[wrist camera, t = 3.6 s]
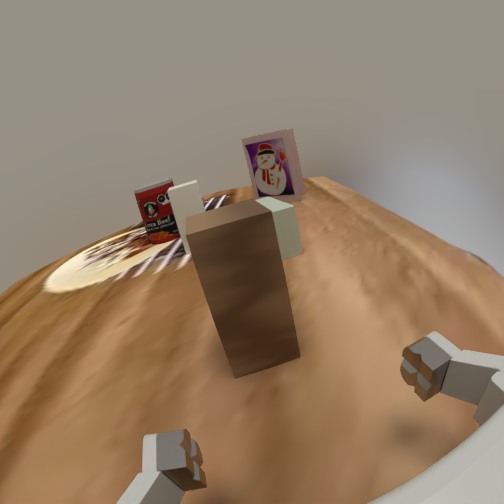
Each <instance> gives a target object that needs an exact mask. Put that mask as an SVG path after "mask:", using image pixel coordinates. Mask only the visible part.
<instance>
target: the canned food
mask: <svg viewBox="0 0 504 504" xmlns="http://www.w3.org/2000/svg"><path fill="white" fill-rule="evenodd" d="M171 187H174V184H173V181H172V178H168V179H164V180H161V181H157V182H154V183H151V184H148V185H145V186H143V187H140V188H137V189H136V190H135V191H134V192H135V196H136V200H137V203H138V207H139V209H140V213H141V216H142V219H143V222H144V225H145V228H146V231H147V234H148V237H149V240H150V241H151V243H153V244H160V243H165V242H168V241H171V240H173V239H176V238H178V237H180V233H179V229H178V226H177V223H176V219H175V216H174V213H173V209H172V206H171V202H170V199H169V196H168V192H167V191H168V189H169V188H171Z"/></svg>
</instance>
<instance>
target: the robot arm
mask: <svg viewBox="0 0 504 504" xmlns="http://www.w3.org/2000/svg"><path fill="white" fill-rule="evenodd" d="M402 356H403V357H404V358H405V359H404V360H403V362H402V363H401V369H400V371H401V375H402V377H403V379H404V381H405V382H406V383H407V384H408V385H411V386H414V392H415V393H416V394H417V395H418V396H419V397H420V398H421V399H422V400H423V402H425V401H426V400H428V399H430V398H431V397H433V396H434V395H436V394H437V393H439V392H440V391H441V392H440V393H443V394H445V395H448V396H451V397H454V398H457V399H460V400H463V401H466V402H469V403H472V404H475V405H478V406H477V408H476V410H475V412H474V414H473V418H474V419H475V420H476V421H477V423H478V424H479V425H480V427H479V428H478V429H477V430H476V431H475V432H474V433H472V434H471V435H470V436H469V437H468V438H467V439H465V440H464V441H463V442H462V443H461V444H459V445H458V446H457V447H456V448H454V449H453V450H452V451H451V452H449V453H448V454H447V455H445V456H444V457H443V458H441V459H440V460H438V461H437V462H436V463H434V464H433V465H431V466H430V467H428V468H427V469H425V470H424V471H422V472H421V473H419V474H418V475H416V476H415V477H413V478H412V479H410V480H408V481H407V482H405V483H403V484H402V485H400V486H398V487H397V488H395V489H393V490H391V491H389V492H388V493H386V494H384V495H382V496H380V497H378V498H376V499H374V500H372V501H370V502H368V503H366V504H504V356H500V355H493V354H487V353H481V352H475V351H469V350H463V351H461V350H459V349H458V348H457V347H456V346H454V345H453V344H452V343H451V342H449V341H448V340H447V339H446V338H444V337H443V336H442V335H440V334H439V333H438V332H435V331H433V332H431V333H430V334H428V335H427V336H425V337H423V338H421V339H419V340H418V341H416V342H414V343H413V344H411V345H409V346H408V347H406V348H405V349H404V350H403V353H402ZM202 464H203V458H202V454H201V451H200V448H199V446H198V444H197V443H196V441H195V440H193V439H191V437H190V433H189V432H188V430H187V429H182V430H176V431H170V432H163V433H156V434H149V435H145V436H144V438H143V455H142V473H138V475H137V476H136V477H135V479H134V480H133V481H132V483H131V484H130V486H129V487H128V488H127V490H126V491H125V492H124V494H123V495H122V497H121V498H120V499H119V501H118V502H117V503H116V504H180V502H181V500H182V498H183V496H184V493H185V492H184V491H189V490H196V489H201V488H206V487H207V484H206V478H205V472H204V471H203V470H202V469H201V468H200V467H201V465H202Z"/></svg>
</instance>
